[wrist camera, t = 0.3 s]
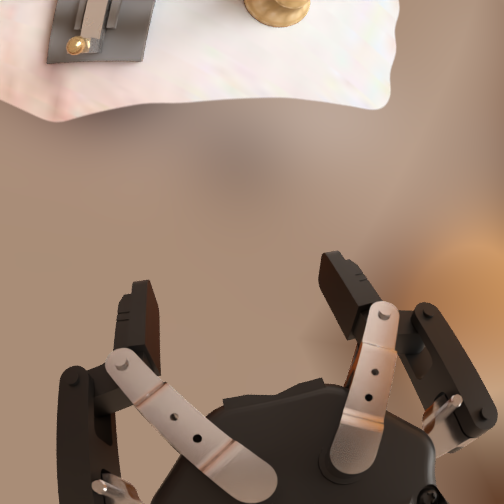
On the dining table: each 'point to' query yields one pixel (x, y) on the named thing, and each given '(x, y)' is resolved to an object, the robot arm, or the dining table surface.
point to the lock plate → (116, 35)
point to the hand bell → (278, 11)
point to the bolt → (91, 29)
